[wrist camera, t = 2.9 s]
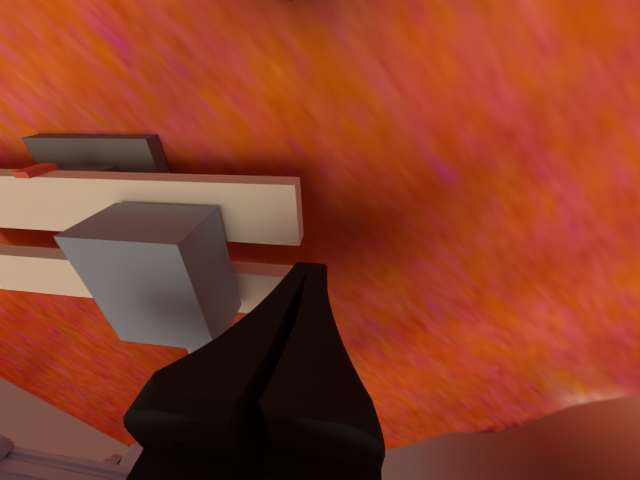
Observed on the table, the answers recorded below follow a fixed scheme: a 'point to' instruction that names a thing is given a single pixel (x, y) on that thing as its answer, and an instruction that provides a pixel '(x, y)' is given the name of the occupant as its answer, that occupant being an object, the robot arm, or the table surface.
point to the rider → (156, 271)
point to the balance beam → (141, 188)
